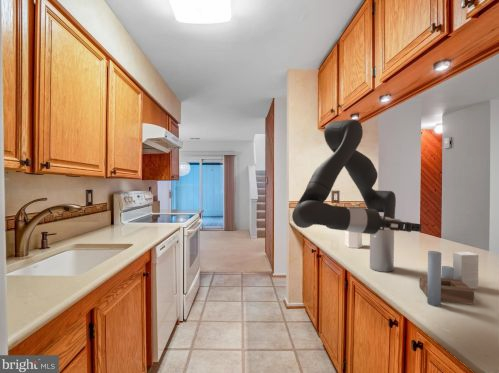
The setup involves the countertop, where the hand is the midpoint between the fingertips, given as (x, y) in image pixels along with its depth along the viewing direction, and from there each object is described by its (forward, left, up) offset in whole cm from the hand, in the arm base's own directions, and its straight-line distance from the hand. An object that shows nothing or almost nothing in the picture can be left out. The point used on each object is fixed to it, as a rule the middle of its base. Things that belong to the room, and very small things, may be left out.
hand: (410, 225), depth 83 cm
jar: (-69, -12, -24) cm, 74 cm away
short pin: (-18, +16, -24) cm, 34 cm away
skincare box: (-20, +22, -24) cm, 39 cm away
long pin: (-2, +7, -24) cm, 25 cm away
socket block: (-10, +13, -24) cm, 29 cm away
